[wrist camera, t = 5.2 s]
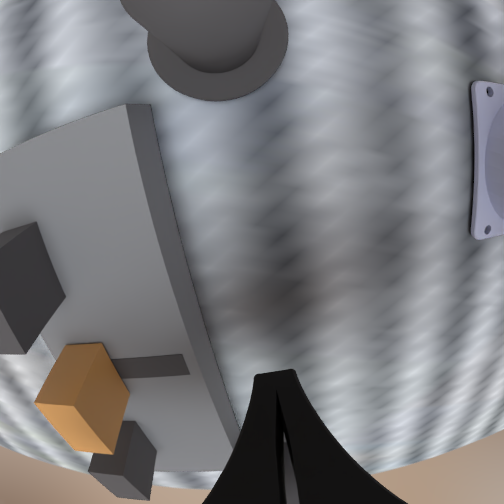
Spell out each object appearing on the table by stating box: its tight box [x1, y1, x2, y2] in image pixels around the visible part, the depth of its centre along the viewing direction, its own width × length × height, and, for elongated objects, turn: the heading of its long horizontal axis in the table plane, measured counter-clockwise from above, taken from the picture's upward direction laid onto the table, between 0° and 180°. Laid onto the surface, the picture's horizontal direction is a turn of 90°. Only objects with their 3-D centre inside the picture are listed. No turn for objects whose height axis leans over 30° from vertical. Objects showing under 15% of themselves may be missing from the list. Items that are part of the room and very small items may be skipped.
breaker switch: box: [34, 343, 130, 455], centre depth 11 cm, size 2×3×4 cm, turn 9°
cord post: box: [284, 434, 299, 504], centre depth 17 cm, size 5×5×7 cm
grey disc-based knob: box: [120, 0, 288, 101], centre depth 7 cm, size 5×5×7 cm
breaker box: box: [0, 104, 240, 501], centre depth 13 cm, size 7×20×6 cm, turn 9°
